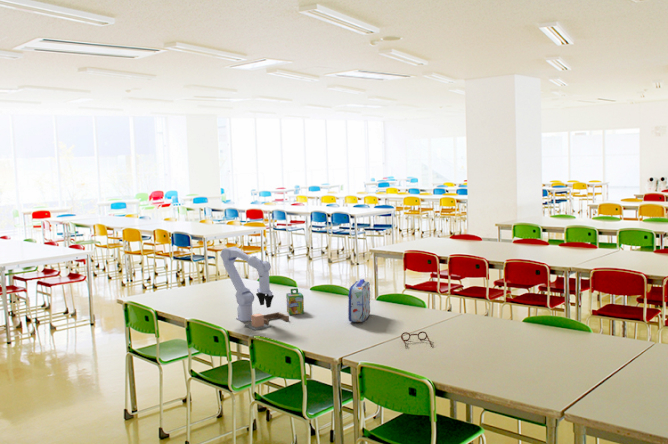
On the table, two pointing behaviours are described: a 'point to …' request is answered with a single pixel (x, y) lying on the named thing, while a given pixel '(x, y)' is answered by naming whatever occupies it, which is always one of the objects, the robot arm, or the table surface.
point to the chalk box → (295, 302)
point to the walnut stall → (275, 315)
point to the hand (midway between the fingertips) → (265, 306)
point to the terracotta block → (257, 320)
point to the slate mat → (257, 327)
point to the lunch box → (359, 301)
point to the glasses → (414, 334)
